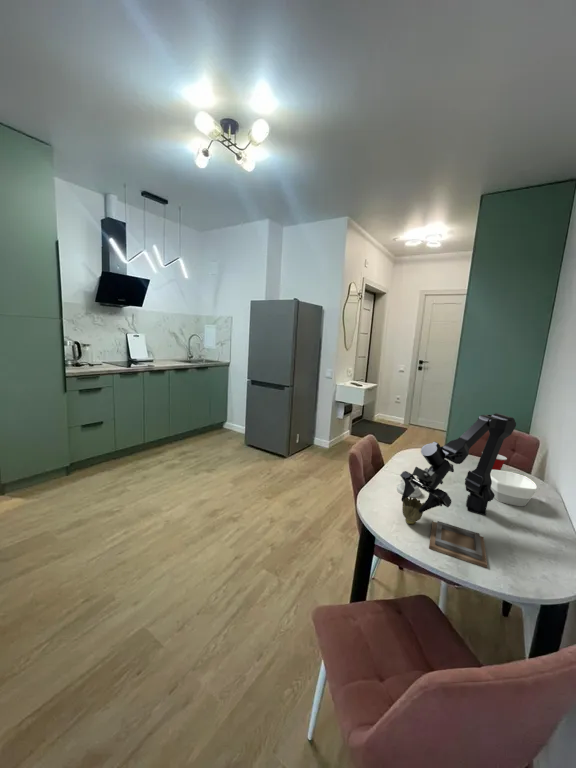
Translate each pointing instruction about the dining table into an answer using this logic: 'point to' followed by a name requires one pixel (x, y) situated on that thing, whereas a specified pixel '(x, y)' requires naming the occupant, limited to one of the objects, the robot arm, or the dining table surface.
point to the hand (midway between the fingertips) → (410, 506)
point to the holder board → (458, 543)
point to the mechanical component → (402, 485)
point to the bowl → (512, 487)
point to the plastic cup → (499, 462)
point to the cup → (411, 510)
